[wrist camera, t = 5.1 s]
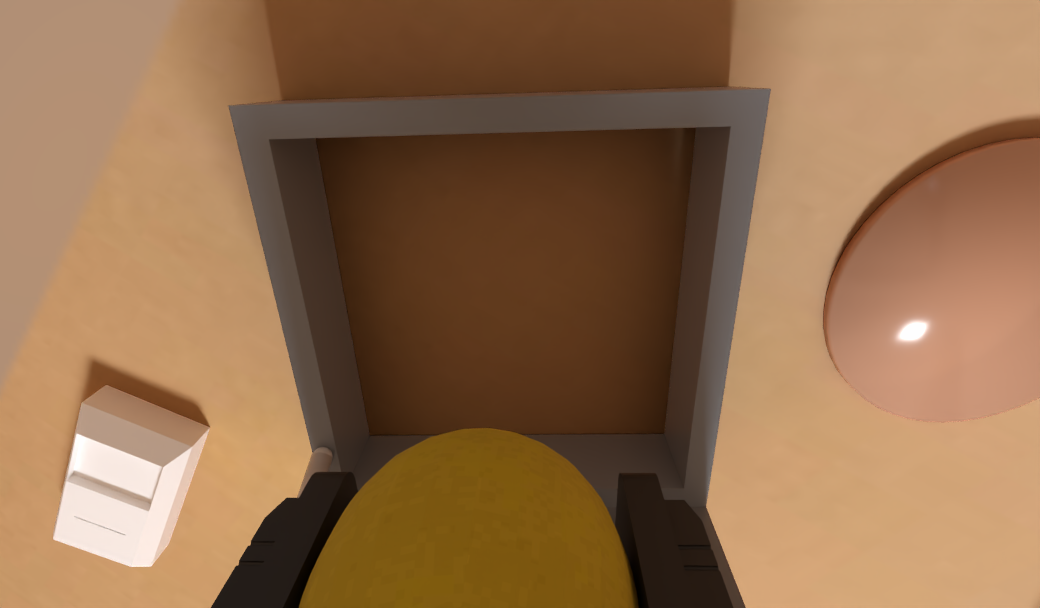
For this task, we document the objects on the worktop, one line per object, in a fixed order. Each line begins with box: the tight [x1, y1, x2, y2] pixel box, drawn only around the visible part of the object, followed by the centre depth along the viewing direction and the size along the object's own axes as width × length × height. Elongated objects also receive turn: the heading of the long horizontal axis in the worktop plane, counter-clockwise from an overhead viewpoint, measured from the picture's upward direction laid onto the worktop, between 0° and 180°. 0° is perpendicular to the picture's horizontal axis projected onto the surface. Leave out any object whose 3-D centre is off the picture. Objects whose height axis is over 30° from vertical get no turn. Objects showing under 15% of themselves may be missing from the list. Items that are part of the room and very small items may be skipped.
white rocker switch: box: [53, 385, 210, 567], centre depth 25 cm, size 5×9×3 cm, turn 152°
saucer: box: [824, 137, 1040, 422], centre depth 21 cm, size 12×12×1 cm
